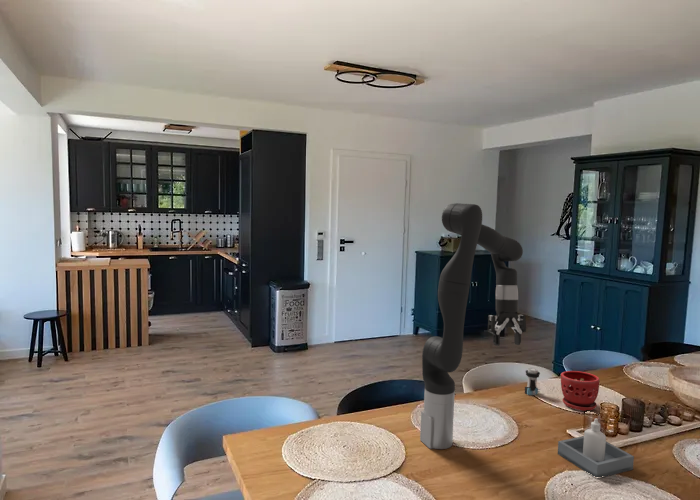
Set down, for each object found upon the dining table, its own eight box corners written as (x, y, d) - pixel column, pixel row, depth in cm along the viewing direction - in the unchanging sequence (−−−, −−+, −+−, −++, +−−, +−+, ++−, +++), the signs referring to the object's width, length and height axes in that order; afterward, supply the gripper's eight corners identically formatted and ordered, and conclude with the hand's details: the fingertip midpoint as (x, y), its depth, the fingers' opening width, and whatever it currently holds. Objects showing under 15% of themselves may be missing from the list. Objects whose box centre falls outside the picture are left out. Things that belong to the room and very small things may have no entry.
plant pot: (599, 404, 181) (601, 373, 180) (595, 416, 170) (598, 384, 169) (562, 396, 188) (564, 367, 187) (556, 407, 177) (558, 376, 176)
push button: (535, 390, 194) (537, 366, 193) (544, 395, 188) (545, 371, 188) (521, 391, 192) (522, 367, 191) (529, 397, 187) (531, 372, 186)
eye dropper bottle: (592, 452, 143) (594, 414, 142) (606, 462, 137) (609, 422, 136) (580, 454, 141) (582, 415, 140) (594, 464, 136) (597, 424, 135)
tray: (596, 478, 130) (597, 465, 130) (557, 453, 143) (558, 441, 143) (632, 469, 135) (633, 456, 135) (591, 446, 148) (592, 434, 148)
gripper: (496, 298, 160) (496, 347, 159) (530, 298, 164) (531, 345, 163) (483, 297, 167) (483, 344, 166) (516, 297, 171) (517, 342, 170)
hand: (507, 344), depth 165 cm, fingers open, 8 cm apart
